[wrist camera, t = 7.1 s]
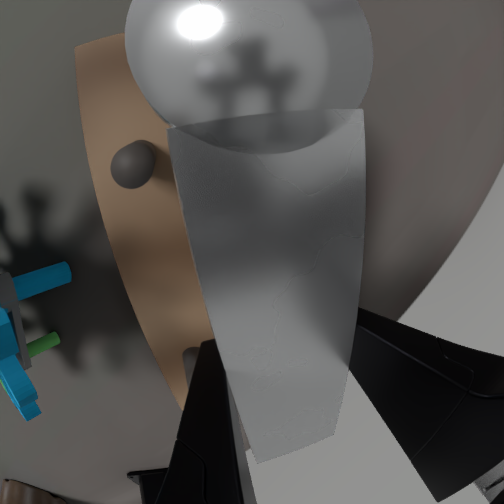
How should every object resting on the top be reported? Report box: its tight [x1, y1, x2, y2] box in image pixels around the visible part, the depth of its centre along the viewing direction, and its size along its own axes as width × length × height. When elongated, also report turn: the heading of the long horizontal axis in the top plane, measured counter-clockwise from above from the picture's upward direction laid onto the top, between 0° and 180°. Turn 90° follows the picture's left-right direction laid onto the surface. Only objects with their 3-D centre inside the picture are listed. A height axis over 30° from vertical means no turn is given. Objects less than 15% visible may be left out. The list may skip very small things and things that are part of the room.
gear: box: [0, 261, 72, 421], centre depth 9 cm, size 11×6×10 cm
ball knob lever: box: [125, 0, 373, 463], centre depth 7 cm, size 16×4×3 cm, turn 8°
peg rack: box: [75, 32, 214, 411], centre depth 12 cm, size 20×10×4 cm, turn 7°
